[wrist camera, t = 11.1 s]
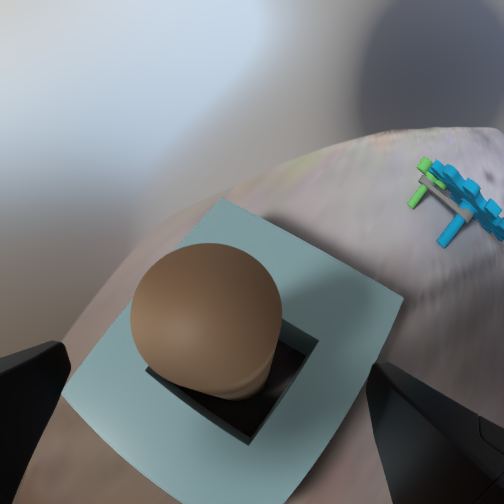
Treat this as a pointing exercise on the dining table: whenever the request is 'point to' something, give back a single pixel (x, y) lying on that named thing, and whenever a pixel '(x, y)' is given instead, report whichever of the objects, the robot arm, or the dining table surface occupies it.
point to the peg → (208, 320)
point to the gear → (458, 199)
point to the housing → (288, 404)
